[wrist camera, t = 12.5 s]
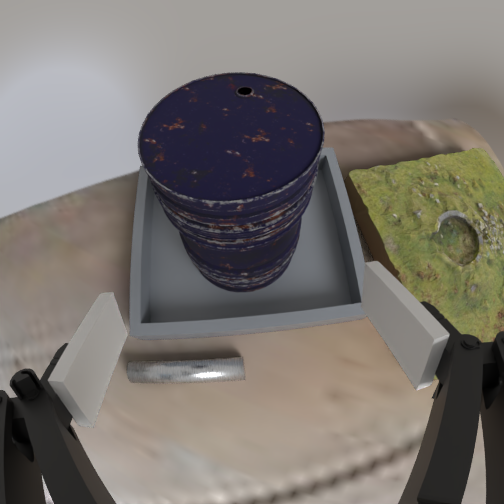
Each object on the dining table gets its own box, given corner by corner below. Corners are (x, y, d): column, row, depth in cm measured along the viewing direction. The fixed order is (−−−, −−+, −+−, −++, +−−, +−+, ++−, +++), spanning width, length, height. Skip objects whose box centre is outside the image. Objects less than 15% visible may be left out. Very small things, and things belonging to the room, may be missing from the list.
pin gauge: (135, 384, 24) (126, 380, 22) (136, 364, 25) (127, 358, 23) (245, 381, 24) (244, 377, 22) (244, 360, 25) (242, 354, 24)
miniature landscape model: (536, 298, 26) (560, 286, 21) (414, 383, 24) (441, 383, 19) (471, 161, 34) (488, 141, 29) (338, 189, 32) (349, 160, 27)
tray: (143, 339, 25) (129, 335, 23) (148, 182, 32) (140, 166, 29) (362, 318, 26) (374, 312, 23) (327, 165, 32) (332, 147, 29)
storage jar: (281, 306, 26) (309, 229, 12) (175, 278, 27) (102, 185, 13) (304, 208, 29) (334, 86, 16) (209, 188, 30) (181, 66, 17)
